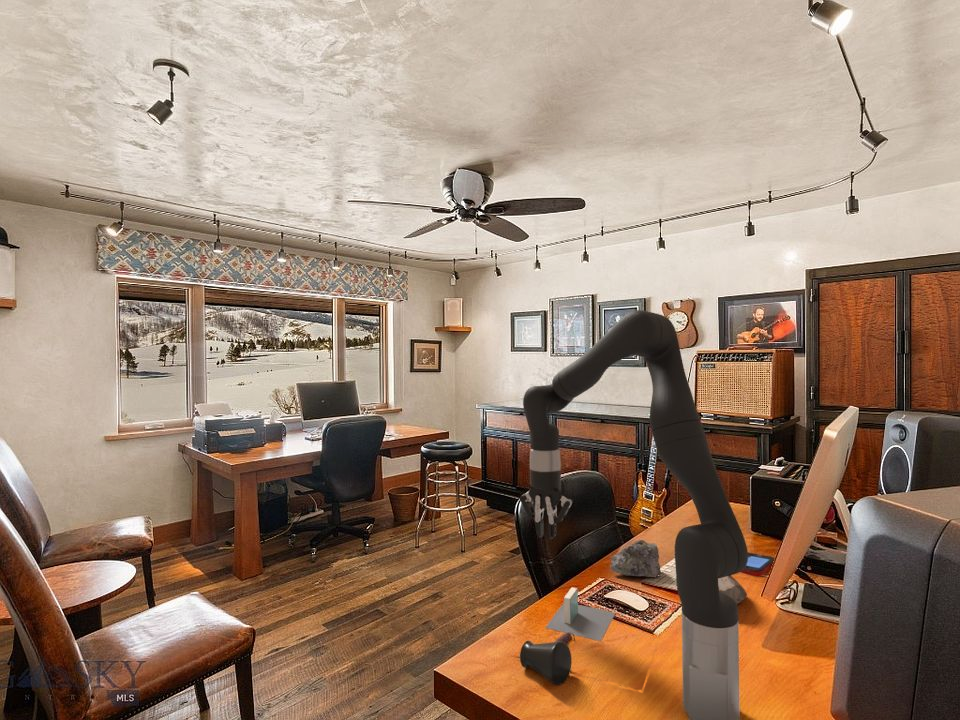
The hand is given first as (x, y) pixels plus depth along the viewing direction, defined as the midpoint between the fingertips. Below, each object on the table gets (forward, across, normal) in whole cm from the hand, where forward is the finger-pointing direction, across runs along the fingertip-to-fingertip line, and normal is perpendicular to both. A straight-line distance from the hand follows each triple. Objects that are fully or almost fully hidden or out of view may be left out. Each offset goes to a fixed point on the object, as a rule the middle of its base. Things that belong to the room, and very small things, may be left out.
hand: (546, 537), depth 127 cm
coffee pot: (+20, +9, -17) cm, 28 cm away
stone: (+19, +39, +24) cm, 50 cm away
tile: (+19, +6, 0) cm, 20 cm away
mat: (+19, +8, 0) cm, 21 cm away
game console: (+20, +43, +54) cm, 72 cm away
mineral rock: (+19, +15, +33) cm, 41 cm away
